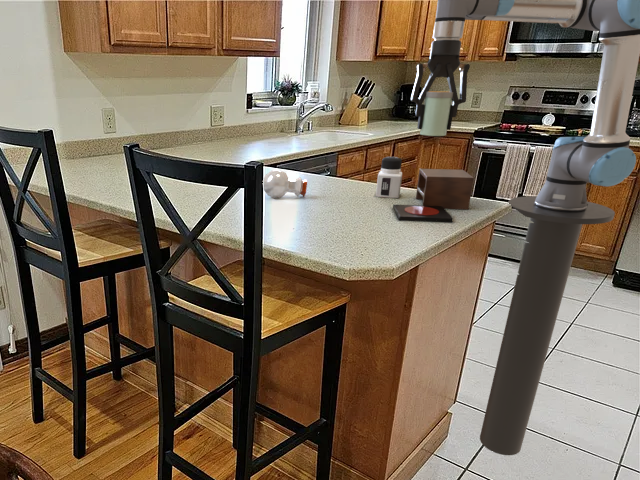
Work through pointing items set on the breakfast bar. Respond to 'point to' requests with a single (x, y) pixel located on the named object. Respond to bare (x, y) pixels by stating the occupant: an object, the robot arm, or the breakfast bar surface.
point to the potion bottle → (283, 184)
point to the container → (389, 178)
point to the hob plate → (422, 213)
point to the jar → (436, 113)
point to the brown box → (445, 188)
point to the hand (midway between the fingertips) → (433, 128)
